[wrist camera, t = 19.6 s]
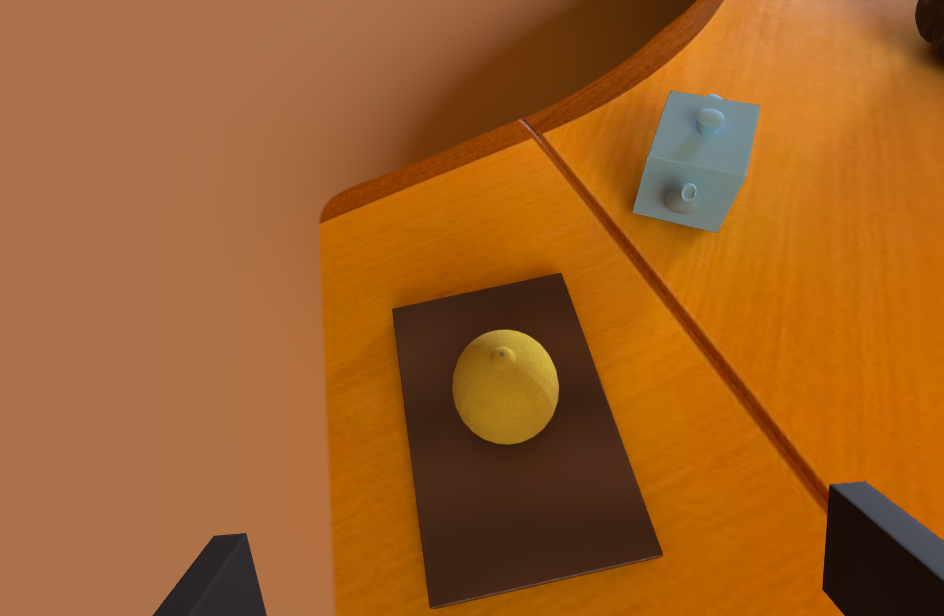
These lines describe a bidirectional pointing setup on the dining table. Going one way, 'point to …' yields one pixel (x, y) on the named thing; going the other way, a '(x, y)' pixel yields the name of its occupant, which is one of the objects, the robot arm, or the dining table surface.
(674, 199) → the knobbed blue-grey cube
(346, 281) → the dining table surface
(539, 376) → the lemon
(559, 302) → the cutting board
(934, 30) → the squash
